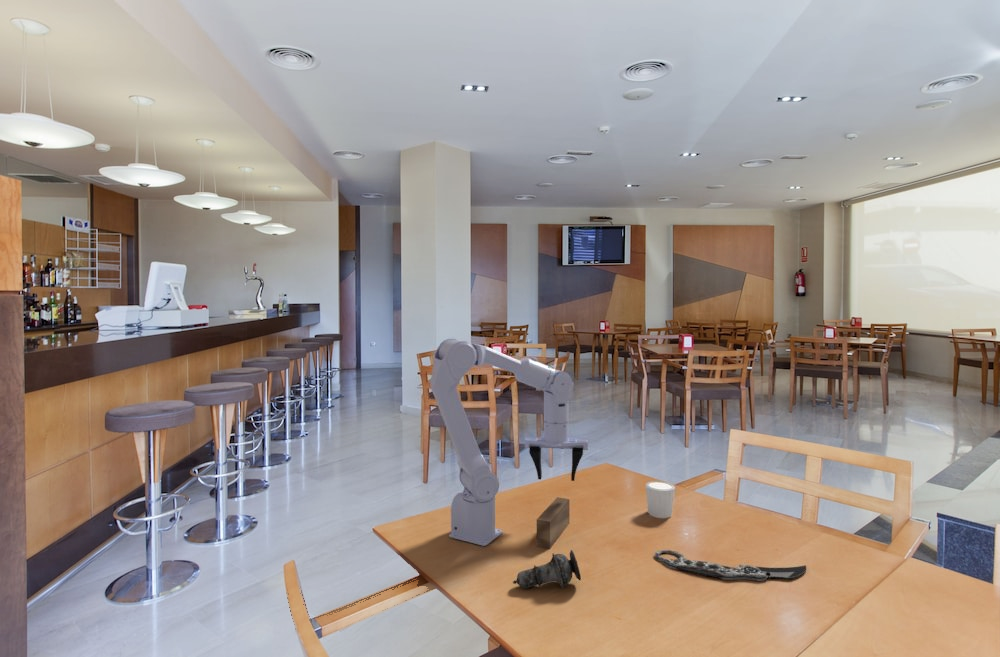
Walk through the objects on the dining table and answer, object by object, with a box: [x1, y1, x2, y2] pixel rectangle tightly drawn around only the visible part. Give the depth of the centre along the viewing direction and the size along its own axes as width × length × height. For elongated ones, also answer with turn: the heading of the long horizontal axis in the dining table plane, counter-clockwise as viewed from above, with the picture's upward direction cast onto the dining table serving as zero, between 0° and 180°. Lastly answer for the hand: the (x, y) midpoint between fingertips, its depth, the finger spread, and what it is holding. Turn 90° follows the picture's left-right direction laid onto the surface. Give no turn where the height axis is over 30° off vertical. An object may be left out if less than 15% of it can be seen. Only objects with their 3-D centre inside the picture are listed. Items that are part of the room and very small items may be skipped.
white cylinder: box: [645, 480, 676, 519], centre depth 130 cm, size 7×7×7 cm
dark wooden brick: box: [536, 497, 570, 550], centre depth 119 cm, size 3×14×6 cm, turn 156°
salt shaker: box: [512, 549, 582, 590], centre depth 97 cm, size 6×6×12 cm
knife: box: [654, 549, 807, 582], centre depth 103 cm, size 28×2×10 cm
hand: (556, 478), depth 125 cm, fingers open, 7 cm apart
